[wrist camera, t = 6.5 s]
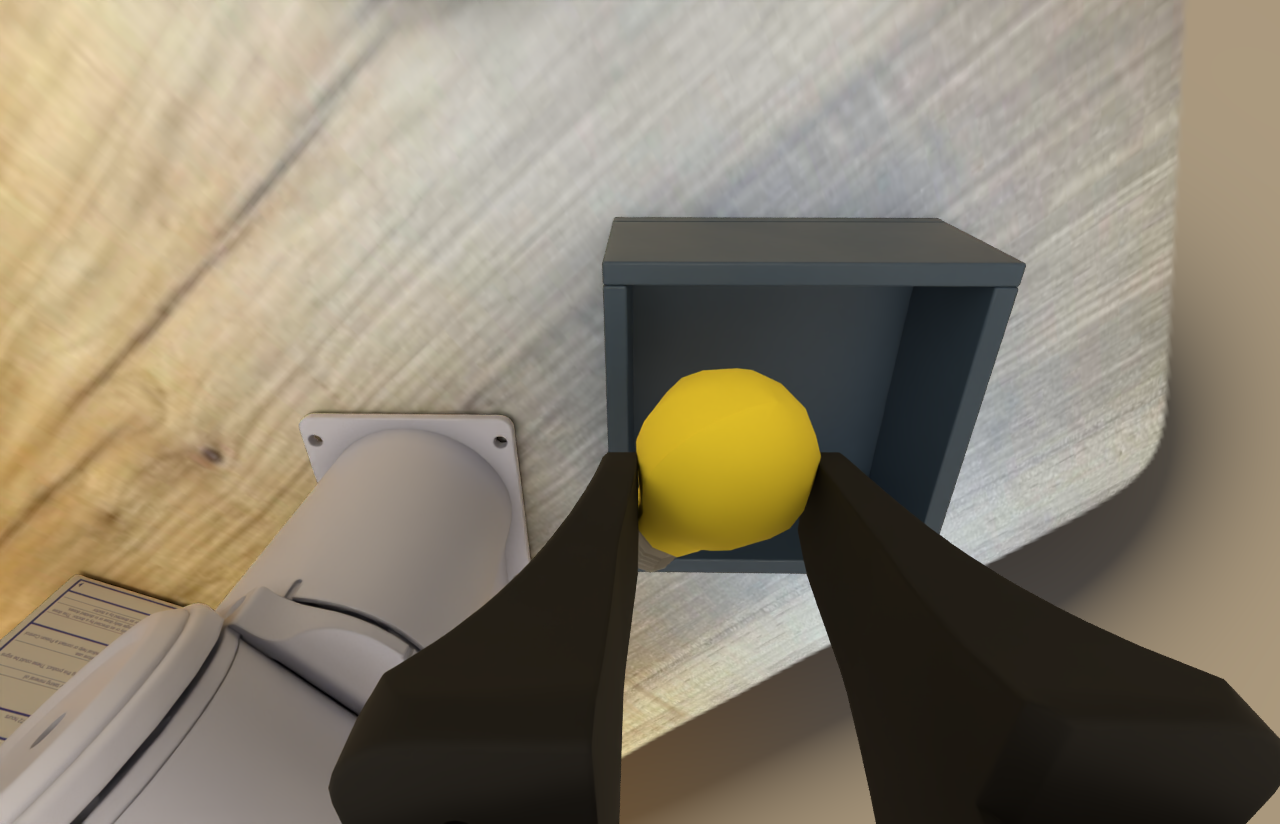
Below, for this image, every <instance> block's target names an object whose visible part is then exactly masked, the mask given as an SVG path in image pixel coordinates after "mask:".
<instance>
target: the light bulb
mask: <svg viewBox="0 0 1280 824" xmlns="http://www.w3.org/2000/svg"><path fill="white" fill-rule="evenodd" d="M636 452H637V465H638V480H639V488H638V528H639V543H638V568H639V569H642V570H645V571H647V572H654V571H657V570H660V569H664V568H666V566H667V564H670V563H671V561H673V560H674V558H676V557H680V556H684V555H687V554H691V553H694V552H698V551H700V550H709V551H723V550H733V549H736V548H740V547H743V546H746V545H750V544H753V543H757V542H760V541H763V540H767V539H770V538H772V537H774V536H776V535H778V534H780V533H782V532H784V531H786V530H788V529H790V528H791V526H792V525H793V524H794V523H795V521H796V520H797V519H798V517H799V516H800V515H801V514H802V512H803V511H804V509H805V506H806V503H807V500H808V497H809V495H810V492H811V489H812V486H813V483H814V480H815V477H816V473H817V469H818V465H819V462H820V458H821V454H820V450H819V446H818V442H817V438H816V435H815V432H814V429H813V427H812V424H811V421H810V419H809V416H808V414H807V411H806V408H805V407H804V406H803V405H802V404H801V403H800V402H799V401H798V400H797V399H796V398H795V397H794V396H793V395H792V394H791V393H790V392H789V391H788V390H787V389H786V388H785V387H784V386H783V385H782V384H781V383H779V382H777V381H775V380H772V379H770V378H768V377H766V376H764V375H762V374H760V373H758V372H756V371H753V370H748V369H739V368H733V369H717V370H702V371H700V372H697V373H694V374H691V375H688V376H685V377H683V378H681V379H680V380H679V381H678V382H677V383H676V384H675V385H674V386H673V387H672V388H671V389H670V390H668V391H667V392H666V394H665V395H664V396H663V398H662V399H661V400H660V402H659V403H658V404H657V405H656V407H655V408H654V409H653V411H652V412H651V413H650V414H649V416H648V417H647V418H646V420H645V421H644V423H643V425H642V427H641V430H640V432H639V435H638V437H637V440H636Z"/></svg>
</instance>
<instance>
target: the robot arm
mask: <svg viewBox="0 0 1280 824" xmlns="http://www.w3.org/2000/svg"><path fill="white" fill-rule="evenodd" d="M299 430H300V433H301V436H302V439H303V442H304V445H305V448H306V451H307V454H308V457H309V460H310V463H311V466H312V469H313V472H314V475H315V478H316V481H317V485H316V486H315V487H314V488H313V490H312V491H311V492H310V493H309V495H308V496H307V497H306V498H305V500H304V501H303V502H302V503H301V504H300V506H299V507H298V508H297V509H296V511H295V512H294V513H293V514H292V516H291V517H290V518H289V519H288V521H287V522H286V523H285V524H284V525H283V527H282V528H281V529H280V530H279V532H278V533H277V534H276V535H275V537H274V538H273V539H272V540H271V542H270V543H269V544H268V545H267V546H266V548H265V549H264V550H263V551H262V553H261V554H260V555H259V556H258V558H257V559H256V560H255V561H254V562H253V564H252V565H251V566H250V567H249V569H248V570H247V571H246V572H245V574H244V575H243V576H242V577H241V579H240V580H239V581H238V582H237V583H236V585H235V586H234V587H233V588H232V590H231V591H230V592H229V593H228V595H227V596H226V597H225V598H224V600H223V601H222V602H221V603H220V604H219V606H218V607H217V608H216V609H215V611H214V610H213V609H211V608H210V607H209V606H208V605H206V604H202V603H194V604H191V605H188V606H185V607H183V608H178V609H172V610H166V611H160V612H156V613H154V614H151V615H150V616H148V617H146V618H144V619H143V620H141V621H140V622H138V623H137V624H136V625H134V626H133V627H131V628H130V629H129V630H127V631H126V632H125V633H123V634H122V635H121V636H120V637H118V638H117V639H116V640H115V641H113V642H112V643H111V644H110V645H108V646H107V647H106V648H105V649H104V650H102V651H101V652H100V653H99V654H98V655H96V656H95V657H94V658H93V659H92V660H91V661H89V662H88V663H87V664H86V665H85V666H84V667H83V668H82V669H80V670H79V671H78V672H77V673H76V674H75V675H74V676H73V677H71V678H70V679H69V680H68V681H67V682H66V683H65V684H64V685H63V686H62V687H60V688H59V689H58V690H57V691H56V692H55V693H54V694H53V695H52V696H51V697H50V698H49V699H48V700H46V701H45V702H44V703H43V704H42V705H41V706H40V707H39V708H38V709H37V710H36V711H35V712H34V713H33V714H32V715H31V716H30V717H29V718H28V719H27V720H26V721H24V722H23V723H22V724H21V725H20V726H19V727H18V728H17V729H16V730H15V731H14V732H13V733H12V734H11V735H10V736H9V737H8V738H7V739H6V740H5V741H4V742H3V743H2V744H1V745H0V824H619V813H620V781H621V780H620V779H621V750H622V721H623V693H624V680H625V669H626V661H627V653H628V645H629V638H630V630H631V622H632V615H633V607H634V599H635V591H636V584H637V576H638V543H639V528H638V465H637V452H608V453H607V454H605V455H604V456H603V458H602V460H601V462H600V465H599V467H598V469H597V471H596V472H595V474H594V476H593V478H592V480H591V481H590V483H589V485H588V486H587V488H586V490H585V491H584V493H583V494H582V496H581V497H580V499H579V500H578V502H577V503H576V505H575V506H574V508H573V509H572V511H571V512H570V514H569V515H568V516H567V518H566V519H565V520H564V522H563V523H562V524H561V525H560V527H559V528H558V529H557V531H556V532H555V533H554V534H553V536H552V537H551V538H550V540H549V541H548V542H547V543H546V544H545V546H544V547H543V548H542V549H541V550H540V551H539V552H538V554H537V555H536V556H535V557H534V558H533V559H532V560H531V559H530V551H529V543H528V535H527V526H526V518H525V510H524V502H523V494H522V486H521V478H520V469H519V461H518V453H517V445H516V437H515V429H514V424H513V422H512V421H511V420H510V418H508V417H506V416H504V415H470V414H340V413H312V414H308V415H306V416H305V417H304V418H303V419H302V420H301V421H300V423H299ZM314 435H317V436H319V437H320V438H321V439H322V441H319V440H317V439H316V438H315V437H314ZM499 436H500V437H504V438H505V439H506V440H507V442H505V443H502V442H499V441H498V440H497V439H496V437H499ZM820 454H821V458H820V462H819V465H818V469H817V473H816V477H815V480H814V483H813V486H812V489H811V492H810V495H809V497H808V500H807V503H806V506H805V509H804V511H803V512H802V514H801V515H800V517H799V524H798V535H799V540H800V545H801V550H802V555H803V560H804V564H805V569H806V573H807V576H808V579H809V582H810V585H811V588H812V591H813V594H814V597H815V600H816V603H817V606H818V609H819V611H820V614H821V617H822V620H823V623H824V626H825V629H826V631H827V634H828V637H829V640H830V643H831V646H832V648H833V651H834V654H835V657H836V660H837V663H838V665H839V668H840V671H841V675H842V678H843V681H844V685H845V688H846V691H847V695H848V699H849V703H850V708H851V712H852V716H853V720H854V724H855V728H856V733H857V737H858V741H859V746H860V750H861V755H862V759H863V764H864V768H865V773H866V777H867V782H868V786H869V791H870V796H871V800H872V806H873V811H874V815H875V820H876V824H1246V823H1247V822H1248V821H1249V820H1250V819H1251V818H1252V817H1253V816H1254V815H1255V814H1256V812H1257V811H1258V810H1259V809H1260V808H1261V807H1262V806H1263V805H1264V804H1265V803H1266V802H1267V801H1268V800H1269V799H1270V797H1271V796H1272V795H1273V794H1274V793H1275V792H1276V790H1277V789H1278V787H1279V786H1280V738H1279V737H1278V736H1277V735H1276V734H1275V733H1274V732H1273V731H1272V730H1271V729H1270V728H1269V727H1268V726H1267V725H1266V723H1265V722H1264V721H1263V720H1262V719H1261V718H1260V717H1259V716H1258V715H1257V714H1256V713H1255V712H1254V711H1253V710H1252V709H1251V708H1250V706H1249V705H1248V704H1247V703H1246V702H1245V701H1244V700H1243V699H1242V698H1241V697H1240V696H1239V695H1238V694H1237V692H1236V691H1235V690H1234V689H1233V688H1232V687H1231V686H1230V685H1229V684H1228V683H1227V682H1226V681H1225V680H1224V679H1222V678H1219V677H1217V676H1214V675H1211V674H1209V673H1207V672H1204V671H1202V670H1199V669H1197V668H1194V667H1192V666H1189V665H1186V664H1184V663H1182V662H1179V661H1177V660H1174V659H1171V658H1169V657H1166V656H1164V655H1161V654H1158V653H1156V652H1154V651H1151V650H1149V649H1146V648H1144V647H1141V646H1139V645H1137V644H1134V643H1132V642H1130V641H1128V640H1125V639H1123V638H1121V637H1119V636H1117V635H1114V634H1112V633H1110V632H1108V631H1105V630H1104V629H1101V628H1099V627H1097V626H1095V625H1093V624H1091V623H1088V622H1086V621H1084V620H1082V619H1080V618H1078V617H1076V616H1074V615H1072V614H1070V613H1068V612H1066V611H1064V610H1062V609H1060V608H1058V607H1056V606H1054V605H1053V604H1051V603H1049V602H1047V601H1045V600H1043V599H1041V598H1039V597H1038V596H1036V595H1034V594H1032V593H1030V592H1028V591H1027V590H1025V589H1023V588H1021V587H1019V586H1017V585H1016V584H1014V583H1012V582H1011V581H1009V580H1007V579H1006V578H1004V577H1002V576H1000V575H999V574H997V573H996V572H994V571H993V570H991V569H989V568H988V567H986V566H985V565H983V564H982V563H980V562H978V561H977V560H975V559H974V558H972V557H971V556H969V555H967V554H966V553H964V552H963V551H962V550H960V549H959V548H957V547H956V546H954V545H953V544H951V543H950V542H949V541H947V540H946V539H945V538H943V537H942V536H941V535H939V534H938V533H936V532H935V531H934V530H932V529H931V528H930V527H928V526H927V525H926V524H924V523H923V522H922V521H921V520H919V519H918V518H917V517H915V516H914V515H913V514H912V513H910V512H909V511H908V510H907V509H905V508H904V507H903V506H902V505H901V504H899V503H898V502H897V501H896V500H895V499H893V498H892V497H891V496H890V495H889V494H888V493H886V492H885V491H884V490H883V489H882V488H881V487H879V486H878V485H877V484H876V483H875V482H874V481H873V480H871V479H870V478H869V477H868V476H867V475H866V474H865V473H863V472H862V471H861V470H860V469H859V468H858V467H857V466H855V465H854V464H853V463H852V462H851V461H850V460H848V459H847V458H846V457H845V456H844V455H842V454H841V453H840V452H820Z"/></svg>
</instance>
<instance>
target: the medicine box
mask: <svg viewBox="0 0 1280 824" xmlns="http://www.w3.org/2000/svg"><path fill="white" fill-rule="evenodd" d="M178 608H183V607H181V606H178V605H175V604H172V603H168V602H165V601H162V600H159V599H155V598H152V597H149V596H146V595H142V594H139V593H136V592H133V591H129V590H126V589H123V588H120V587H116V586H113V585H109V584H106V583H103V582H100V581H97V580H93V579H90V578H87V577H84V576H82V575H78V574H77V575H74V576H73V577H71V578H70V579H69V580H68V581H67V582H66V583H65V584H64V585H62V586H61V587H60V588H59V589H58V590H57V591H55V592H54V593H53V594H52V595H51V596H50V597H49V598H48V599H47V600H45V601H44V602H43V603H42V604H41V605H40V606H39V607H38V608H36V609H35V610H34V611H33V612H32V613H31V614H29V615H28V616H27V617H26V618H25V619H24V620H23V621H22V622H20V623H19V624H18V625H17V626H16V627H15V628H14V629H13V630H11V631H10V632H9V633H8V634H7V635H6V636H4V637H3V638H2V639H1V640H0V745H1V744H2V743H3V742H4V741H5V740H6V739H7V738H8V737H9V736H10V735H11V734H12V733H13V732H14V731H15V730H16V729H17V728H18V727H19V726H20V725H21V724H22V723H23V722H24V721H26V720H27V719H28V718H29V717H30V716H31V715H32V714H33V713H34V712H35V711H36V710H37V709H38V708H39V707H40V706H41V705H42V704H43V703H44V702H45V701H46V700H48V699H49V698H50V697H51V696H52V695H53V694H54V693H55V692H56V691H57V690H58V689H59V688H60V687H62V686H63V685H64V684H65V683H66V682H67V681H68V680H69V679H70V678H71V677H73V676H74V675H75V674H76V673H77V672H78V671H79V670H80V669H82V668H83V667H84V666H85V665H86V664H87V663H88V662H89V661H91V660H92V659H93V658H94V657H95V656H96V655H98V654H99V653H100V652H101V651H102V650H104V649H105V648H106V647H107V646H108V645H110V644H111V643H112V642H113V641H115V640H116V639H117V638H118V637H120V636H121V635H122V634H123V633H125V632H126V631H127V630H129V629H130V628H131V627H133V626H134V625H136V624H137V623H138V622H140V621H141V620H143V619H144V618H146V617H148V616H150V615H151V614H154V613H156V612H160V611H166V610H172V609H178Z"/></svg>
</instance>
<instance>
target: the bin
mask: <svg viewBox="0 0 1280 824" xmlns="http://www.w3.org/2000/svg"><path fill="white" fill-rule="evenodd" d="M1025 267H1026V264H1025V263H1024V262H1022V261H1020V260H1018V259H1016V258H1014V257H1012V256H1010V255H1008V254H1006V253H1004V252H1002V251H1000V250H998V249H996V248H994V247H993V246H991V245H989V244H987V243H985V242H983V241H981V240H979V239H977V238H975V237H973V236H971V235H969V234H967V233H965V232H963V231H962V230H960V229H958V228H956V227H954V226H952V225H950V224H948V223H946V222H944V221H942V220H940V219H938V218H624V217H616V218H614V220H613V224H612V228H611V232H610V235H609V239H608V243H607V247H606V251H605V255H604V259H603V263H602V275H603V284H604V285H603V305H604V336H605V366H606V397H607V428H608V452H636V440H637V437H638V435H639V432H640V430H641V427H642V425H643V423H644V421H645V420H646V418H647V417H648V416H649V414H650V413H651V412H652V411H653V409H654V408H655V407H656V405H657V404H658V403H659V402H660V400H661V399H662V398H663V396H664V395H665V394H666V392H667V391H668V390H670V389H671V388H672V387H673V386H674V385H675V384H676V383H677V382H678V381H679V380H680V379H681V378H683V377H685V376H688V375H691V374H694V373H697V372H700V371H702V370H717V369H733V368H739V369H748V370H753V371H756V372H758V373H760V374H762V375H764V376H766V377H768V378H770V379H772V380H775V381H777V382H779V383H781V384H782V385H783V386H784V387H785V388H786V389H787V390H788V391H789V392H790V393H791V394H792V395H793V396H794V397H795V398H796V399H797V400H798V401H799V402H800V403H801V404H802V405H803V406H804V407H805V408H806V411H807V414H808V416H809V419H810V421H811V424H812V427H813V429H814V432H815V435H816V438H817V442H818V446H819V450H820V452H840V453H841V454H842V455H844V456H845V457H846V458H847V459H848V460H850V461H851V462H852V463H853V464H854V465H855V466H857V467H858V468H859V469H860V470H861V471H862V472H863V473H865V474H866V475H867V476H868V477H869V478H870V479H871V480H873V481H874V482H875V483H876V484H877V485H878V486H879V487H881V488H882V489H883V490H884V491H885V492H886V493H888V494H889V495H890V496H891V497H892V498H893V499H895V500H896V501H897V502H898V503H899V504H901V505H902V506H903V507H904V508H905V509H907V510H908V511H909V512H910V513H912V514H913V515H914V516H915V517H917V518H918V519H919V520H921V521H922V522H923V523H924V524H926V525H927V526H928V527H930V528H931V529H932V530H934V531H935V532H936V533H938V534H940V531H941V528H942V525H943V522H944V519H945V516H946V512H947V509H948V506H949V503H950V500H951V497H952V494H953V491H954V488H955V484H956V481H957V478H958V475H959V472H960V469H961V466H962V463H963V460H964V457H965V453H966V450H967V447H968V444H969V441H970V438H971V435H972V432H973V429H974V426H975V422H976V419H977V416H978V413H979V410H980V407H981V404H982V401H983V398H984V395H985V391H986V388H987V385H988V382H989V379H990V376H991V373H992V370H993V367H994V364H995V360H996V357H997V354H998V351H999V348H1000V345H1001V342H1002V339H1003V336H1004V332H1005V329H1006V326H1007V323H1008V320H1009V317H1010V314H1011V311H1012V308H1013V305H1014V301H1015V298H1016V295H1017V292H1018V288H1017V287H1018V286H1019V285H1020V283H1021V280H1022V277H1023V274H1024V270H1025ZM638 488H639V480H638ZM799 517H800V516H799ZM799 517H798V519H797V520H796V521H795V523H794V524H793V525H792V526H791V528H790V529H788V530H786V531H784V532H782V533H780V534H778V535H776V536H774V537H772V538H770V539H767V540H763V541H760V542H757V543H753V544H750V545H746V546H743V547H740V548H736V549H733V550H723V551H709V550H700V551H698V552H694V553H691V554H687V555H684V556H680V557H676V558H674V560H673V561H671V563H670V564H667V566H666V568H664V569H660V570H657V571H654V572H705V573H790V574H807V573H806V569H805V564H804V560H803V555H802V550H801V545H800V540H799V535H798V524H799ZM638 572H647V571H645V570H642V569H639V568H638Z"/></svg>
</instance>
